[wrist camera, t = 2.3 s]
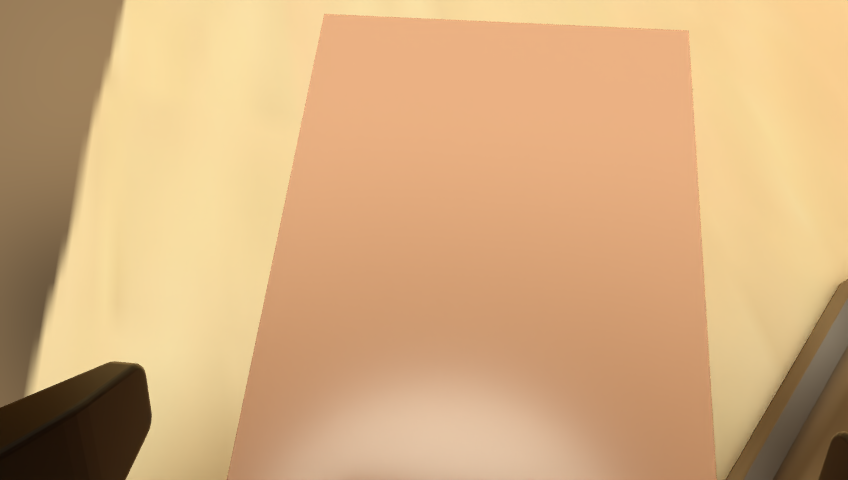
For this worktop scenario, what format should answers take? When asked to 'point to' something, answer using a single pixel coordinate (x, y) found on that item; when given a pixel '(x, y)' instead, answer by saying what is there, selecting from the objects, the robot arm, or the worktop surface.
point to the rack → (804, 406)
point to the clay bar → (486, 262)
